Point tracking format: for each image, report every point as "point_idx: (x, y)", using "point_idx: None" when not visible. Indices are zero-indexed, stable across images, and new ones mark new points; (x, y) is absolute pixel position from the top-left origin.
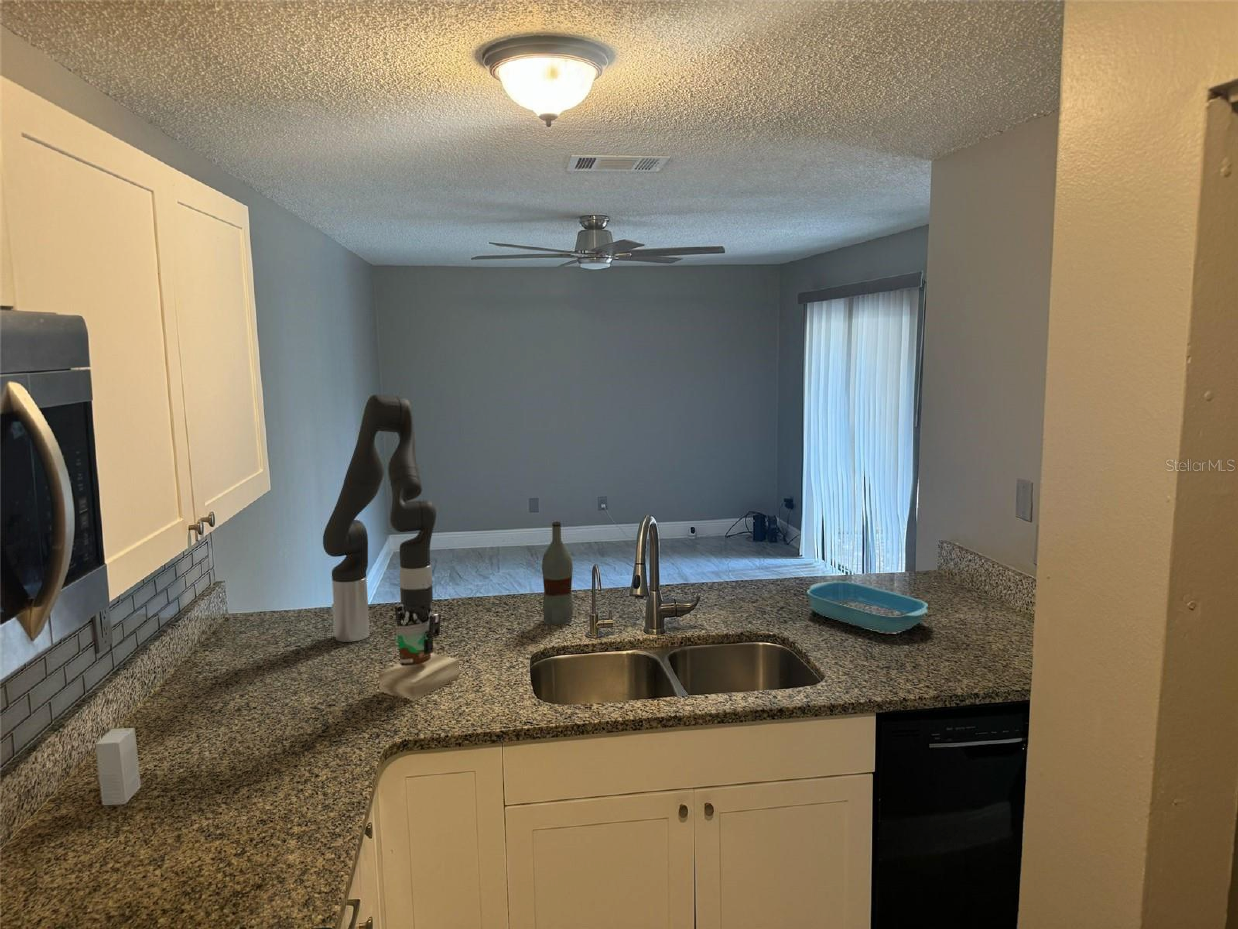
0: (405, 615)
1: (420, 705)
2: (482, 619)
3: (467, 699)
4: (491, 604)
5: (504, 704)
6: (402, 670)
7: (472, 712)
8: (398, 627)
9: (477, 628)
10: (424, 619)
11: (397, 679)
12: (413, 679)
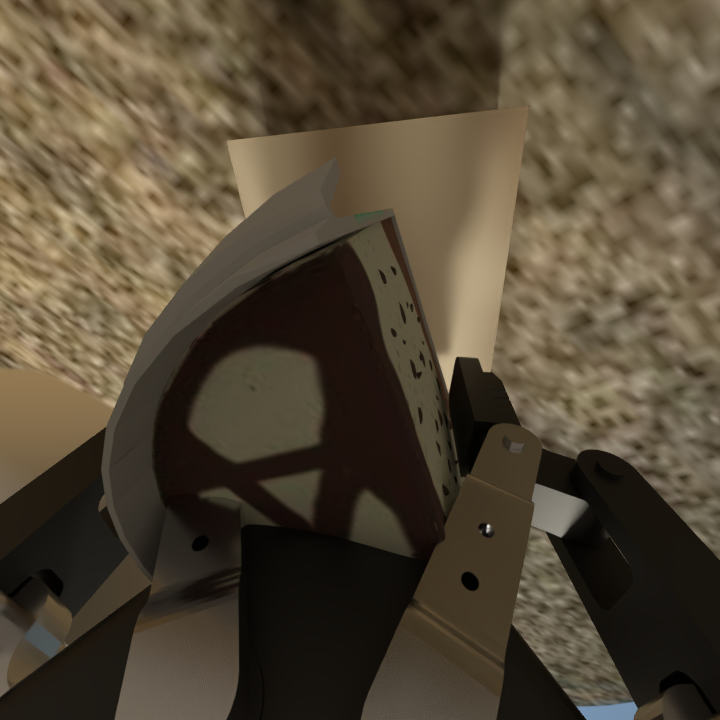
0: (486, 680)
1: (212, 128)
2: (540, 640)
3: (146, 284)
4: (572, 683)
5: (45, 315)
6: (416, 238)
7: (33, 210)
8: (279, 253)
9: (516, 610)
10: (110, 617)
11: (356, 127)
12: (259, 173)
